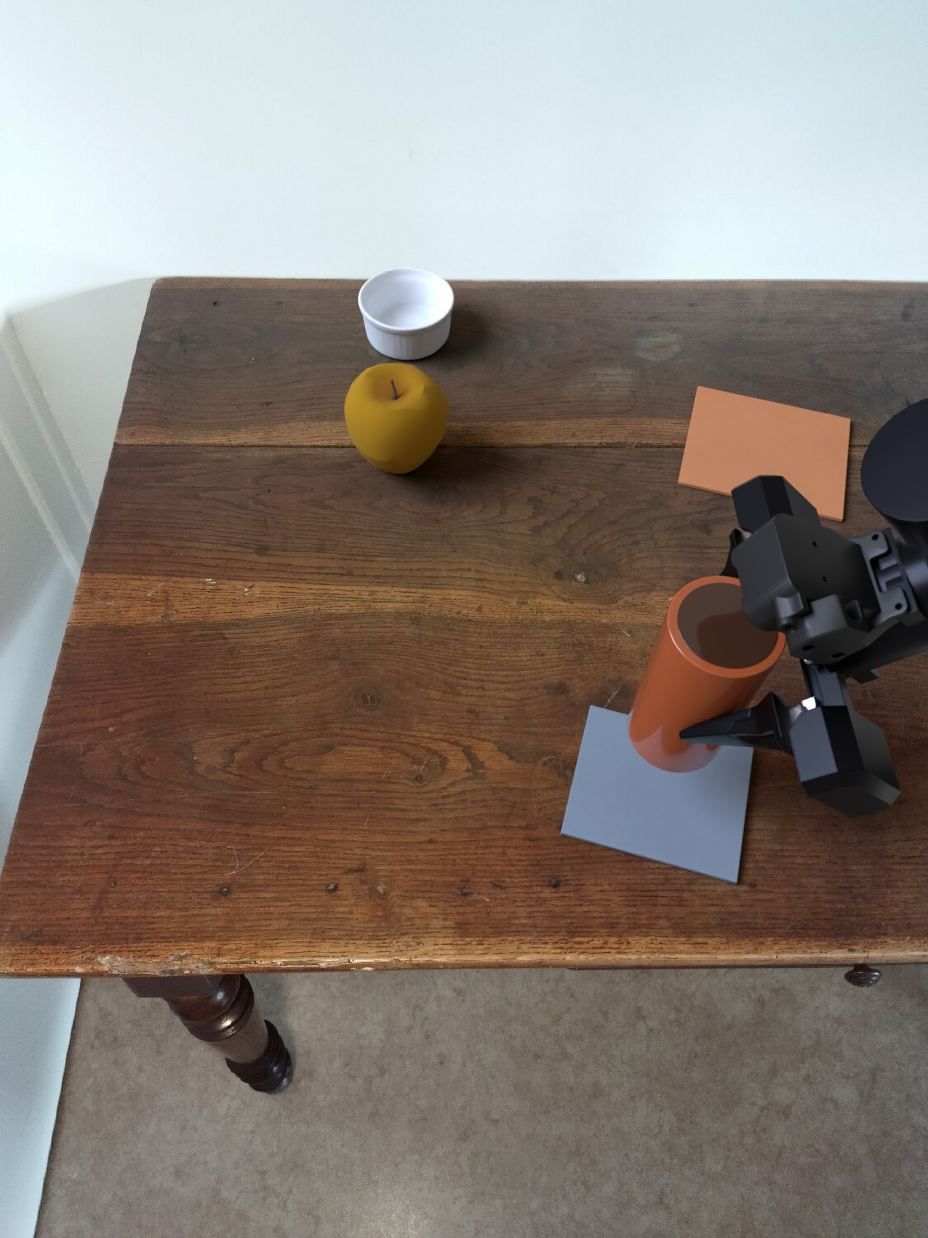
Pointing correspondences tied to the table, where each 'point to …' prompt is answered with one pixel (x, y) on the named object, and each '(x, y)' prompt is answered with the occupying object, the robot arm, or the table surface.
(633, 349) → the table surface
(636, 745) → the terracotta pot
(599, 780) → the slate mat
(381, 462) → the apple
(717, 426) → the terracotta mat
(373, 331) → the ramekin
